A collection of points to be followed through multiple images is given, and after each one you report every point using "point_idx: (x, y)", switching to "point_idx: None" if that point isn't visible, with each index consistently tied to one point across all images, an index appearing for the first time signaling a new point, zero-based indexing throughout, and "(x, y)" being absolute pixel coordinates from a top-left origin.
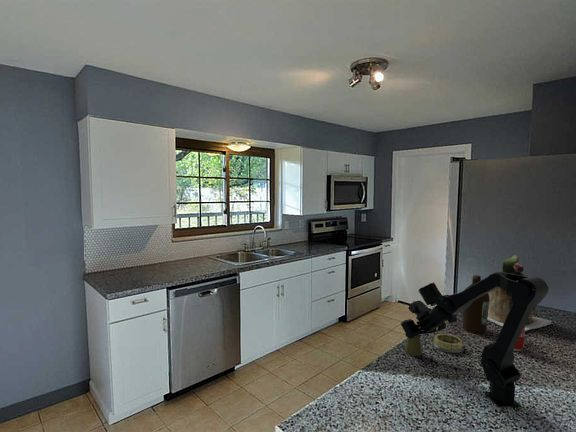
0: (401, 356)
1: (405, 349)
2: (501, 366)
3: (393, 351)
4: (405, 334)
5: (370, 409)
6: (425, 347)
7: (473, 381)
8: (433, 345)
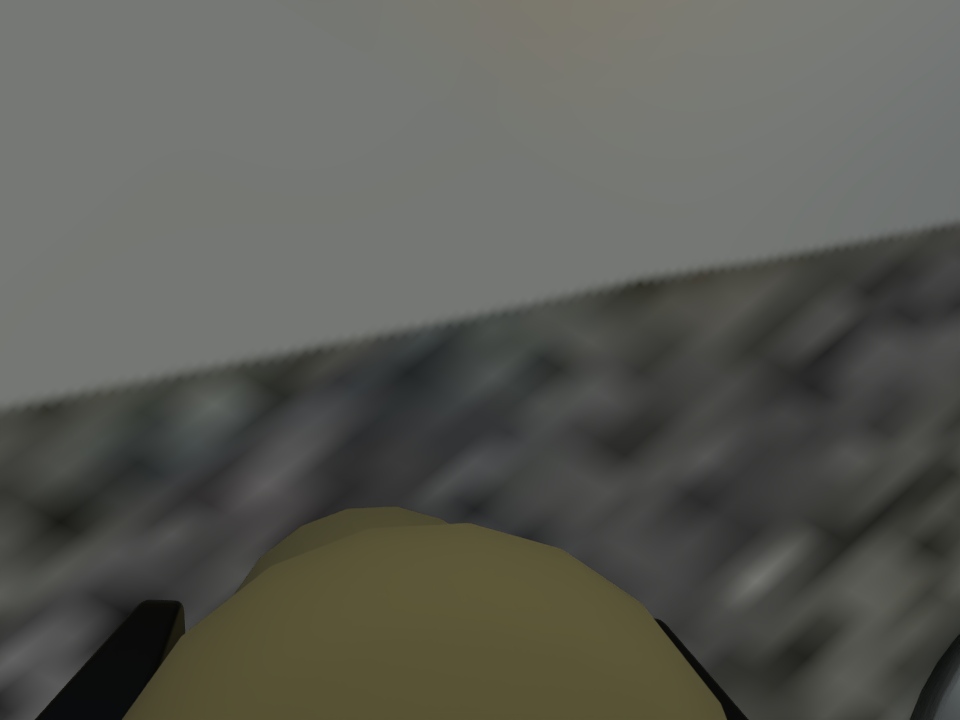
0: (3, 671)
1: (256, 567)
2: None
3: (57, 431)
4: (130, 622)
5: None
6: (752, 640)
7: None
8: (937, 667)
